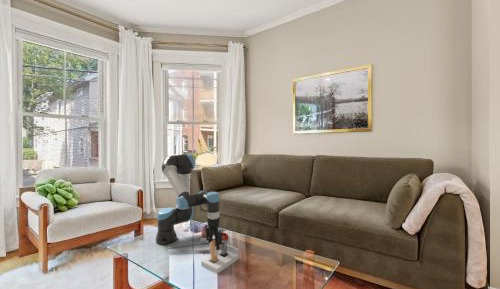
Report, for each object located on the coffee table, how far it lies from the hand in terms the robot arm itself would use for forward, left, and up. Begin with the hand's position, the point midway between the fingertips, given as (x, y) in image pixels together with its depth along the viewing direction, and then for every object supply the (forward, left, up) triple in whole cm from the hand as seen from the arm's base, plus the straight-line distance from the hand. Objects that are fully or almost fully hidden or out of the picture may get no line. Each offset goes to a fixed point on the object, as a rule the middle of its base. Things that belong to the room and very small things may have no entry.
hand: (214, 253), depth 165 cm
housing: (+1, +5, -8) cm, 9 cm away
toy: (-12, +19, -8) cm, 24 cm away
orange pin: (0, 0, -4) cm, 4 cm away
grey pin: (0, +9, -8) cm, 12 cm away
